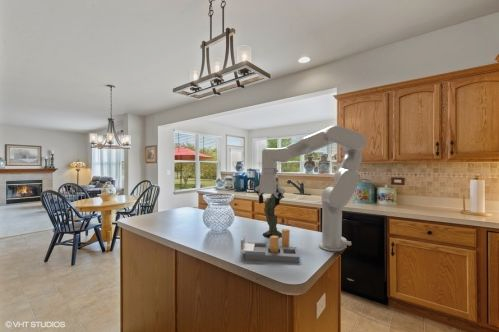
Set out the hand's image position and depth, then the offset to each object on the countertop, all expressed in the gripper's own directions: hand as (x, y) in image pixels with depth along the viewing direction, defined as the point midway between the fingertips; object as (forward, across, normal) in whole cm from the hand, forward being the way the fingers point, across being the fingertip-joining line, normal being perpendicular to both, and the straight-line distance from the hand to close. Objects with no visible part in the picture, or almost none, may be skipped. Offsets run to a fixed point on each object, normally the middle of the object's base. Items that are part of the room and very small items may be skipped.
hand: (268, 204), depth 123 cm
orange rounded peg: (+22, -8, -3) cm, 24 cm away
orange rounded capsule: (+22, -9, +10) cm, 26 cm away
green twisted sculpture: (+22, +7, -17) cm, 29 cm away
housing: (+22, -8, +11) cm, 26 cm away
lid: (+19, +2, +16) cm, 25 cm away
